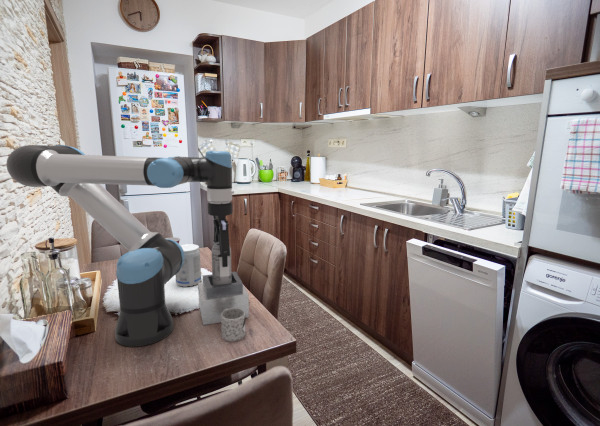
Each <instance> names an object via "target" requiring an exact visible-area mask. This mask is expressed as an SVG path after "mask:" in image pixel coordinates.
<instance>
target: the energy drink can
mask: <svg viewBox="0 0 600 426" xmlns="http://www.w3.org/2000/svg"><path fill="white" fill-rule="evenodd" d="M210 251H211V270H212V271H211V273H212V274H211V275H212V279H213V286H214V285H222V284H230V283H232V274H231V272H232V248H231V247H230V256H229V276H225V277H220V258H219V257H218V255H220V247H219V242H216V243H215V242H213V245H212V248H211V249H210Z"/></svg>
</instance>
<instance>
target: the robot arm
mask: <svg viewBox="0 0 600 426" xmlns="http://www.w3.org/2000/svg"><path fill="white" fill-rule="evenodd" d="M6 170H7V173H8V174H9V176H10V177H11V178H12V179H13V180H14V181H15V182H17V183H18V184H20V185H23V186H25V187H29V188H42V187H43V188H44V187H50V188H52V189H53V191H55V192H56V193H57V194H58V195H59V196H60V197H70V198H71V199H72V200H73V201H74V203H76V204H77V205H78V206H79V207H81V209H82V210H83V211H85V212H86V213H87V214H88V215H89V216H91V218H92V219H93V220H95V222H97V224H99V225H100V226H101V227H102V228H103V229H104V230H105V231H106V232H107V233H108V234H109V235H111V236H112V237H113V238H114V239H115V240H116V241H117V242H118V243H120V245H122V246H123V248H125V249H126V250H127V251H128V252H126V253H124V254H122V255H121V256H119V258H118V260H117V261H116V270H115V274H116V280H117V281H116V282H117V290H118V298H119V299H118V300H119V309H120V310H119V315H118V318H117V320H116V321H117V323H116V326H115V328H114V329H115V330H114V336H115V337H114V338H115V341H116V343H117V344H119V345H121V346H124V347H132V348H135V347H143V346H147V345H152V344H154V343H157V342H160V341H161V340H163V339H165V338H166V337H168V336H169V335H170V334H172V332H173V329H174V320H173V316H172V315H171V313H170V310H169V308H168V305H167V303H166V294H165V293H166V291H165V285H166V284H167V283H168V282H170V280H171V279H172V278H174V276H176V274H177V273H178V272H179V270H180V269H181V267H182V266H183V264H184V260H185V255H184V251H183V249H182V247H181V246H180V245H181V244H180V242H179V243H177V242H176V241H174V240H169V239H165V238H166V237H164V235H162V234H160V232H158V231H154V232H152V231H150V230H149V228H147V227H146V226H145V225H144V224H143V223H142V222H141V221H140V220H139V219H137V217H136V216H134V215H133V213H131V212H130V211H129V209H127V208H126V207H125V206H124V205H123V204H122V203H121V202H119V200H117V198H115V197H114V196H113V195H112V194H111V193H110V192H109V191H108V190H107V189H106V188H105V187H104V186H103V185H124V186H151V187H157V188H160V189H171V188H174V187H177V186H179V185H182V184H183V185H184V184H186V183H206V199H207V200H206V201H207V202H208V203H207V214H208V215H209V216H212V218H213V220H212V221H213V243H216V242H219V247H220V255H218V257H219V258H220V277H225V276H229V256H230V248H231V246H230V234H229V233H230V232H229V225H230V224H229V221H228V220H227V218H226V216H230V215H232V214H233V213H234V212H233V211H234V208H233V202H232V201H233V194H234V193H235V191H234V190H233V165H232V155H231V153H230V151H227V150H226V151H225V150H224V151H223V150H219V151H218V150H207V151H206V152H205V156H203V157H195V156H193V157H192V156H178V155H177V156H169V157H156V156H155V157H153V156H152V157H148V156H124V155H122V156H121V155H96V154H85V153H84V152H83V151H82V150H80V149H79V148H76V147H74V146H70V145H64V144H55V145H45V144H44V145H42V144H41V145H39V144H38V145H37V144H27V145H23V146H19V147H17V148H16V149H14V150H13V151H12V152H11V153H10V154H9V155H8V157H7V159H6Z"/></svg>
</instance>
